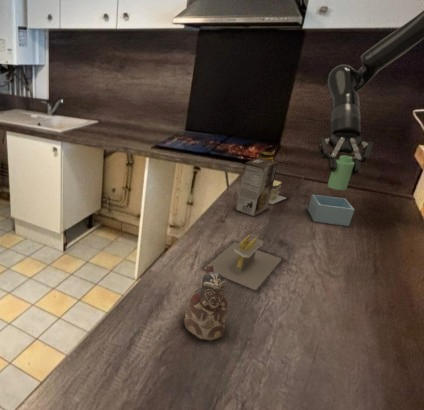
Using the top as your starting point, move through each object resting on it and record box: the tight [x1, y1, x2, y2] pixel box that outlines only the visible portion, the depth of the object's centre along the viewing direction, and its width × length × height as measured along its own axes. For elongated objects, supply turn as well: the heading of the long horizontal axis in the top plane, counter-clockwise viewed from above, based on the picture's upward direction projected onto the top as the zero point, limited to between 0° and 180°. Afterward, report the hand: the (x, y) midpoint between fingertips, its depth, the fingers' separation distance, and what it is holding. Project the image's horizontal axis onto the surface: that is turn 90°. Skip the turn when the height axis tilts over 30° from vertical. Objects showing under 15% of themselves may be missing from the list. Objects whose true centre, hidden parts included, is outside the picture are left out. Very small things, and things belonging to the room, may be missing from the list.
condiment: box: [257, 151, 275, 161], centre depth 139 cm, size 7×8×12 cm
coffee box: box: [236, 157, 279, 217], centre depth 114 cm, size 9×6×16 cm
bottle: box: [327, 155, 355, 191], centre depth 106 cm, size 5×5×10 cm
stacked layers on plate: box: [269, 179, 287, 205], centre depth 126 cm, size 10×9×6 cm
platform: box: [203, 234, 283, 291], centre depth 85 cm, size 12×18×7 cm, turn 136°
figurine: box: [184, 264, 228, 341], centre depth 64 cm, size 7×7×12 cm
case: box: [307, 194, 356, 227], centre depth 111 cm, size 9×9×6 cm
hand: (344, 171), depth 104 cm, fingers closed on bottle, 5 cm apart
